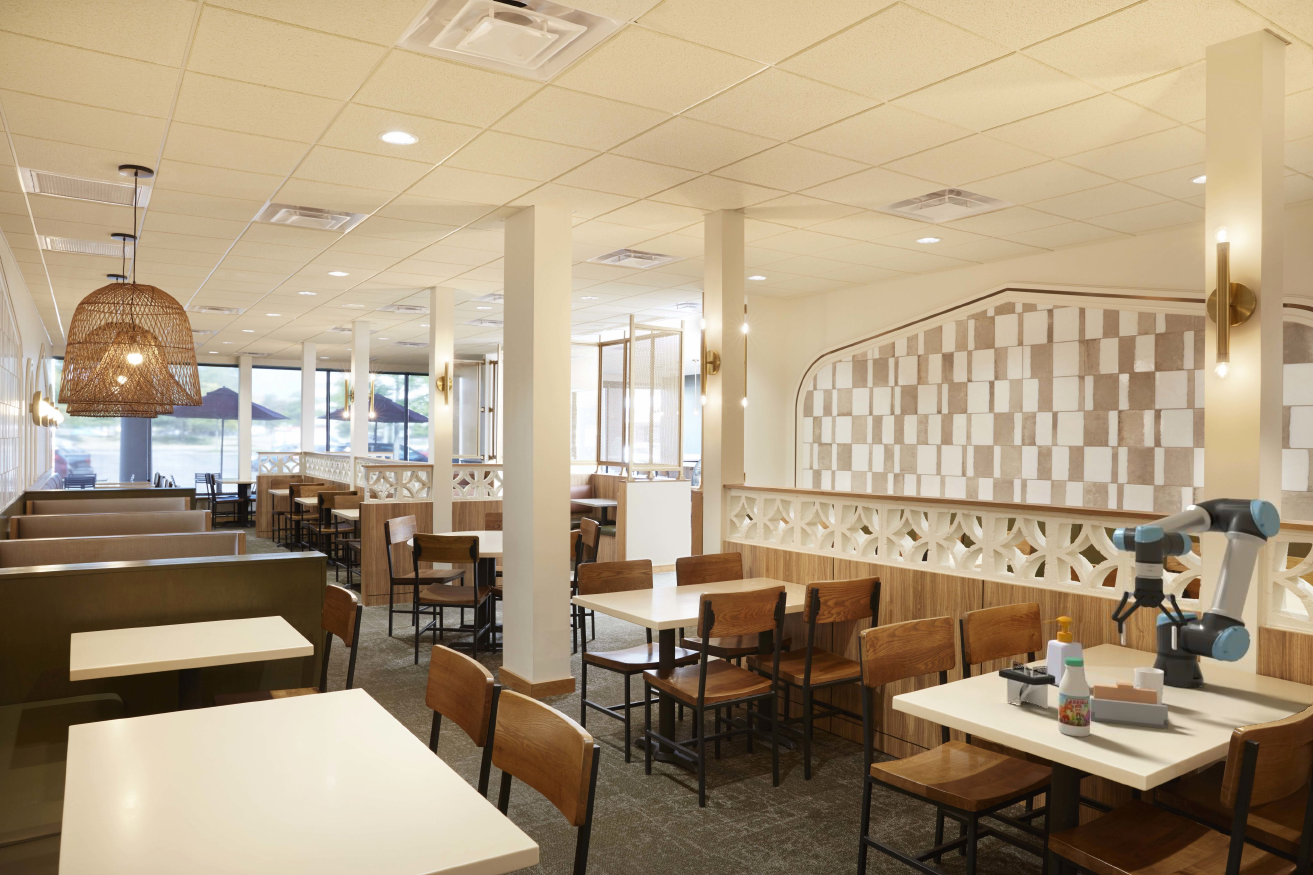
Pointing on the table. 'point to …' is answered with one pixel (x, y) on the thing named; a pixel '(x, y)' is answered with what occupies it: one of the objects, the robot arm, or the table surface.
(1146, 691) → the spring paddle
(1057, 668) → the soap bottle
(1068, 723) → the milk bottle
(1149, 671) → the white cup
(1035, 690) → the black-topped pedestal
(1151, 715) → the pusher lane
